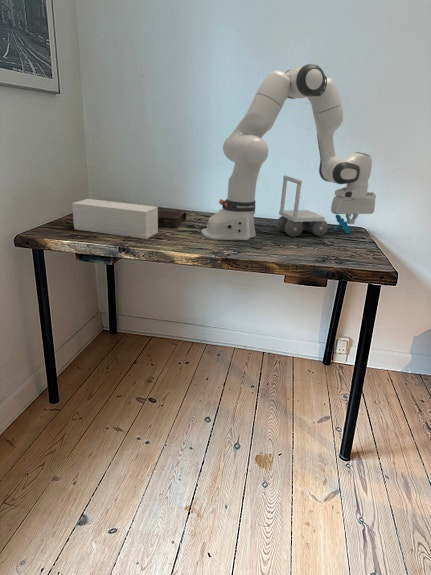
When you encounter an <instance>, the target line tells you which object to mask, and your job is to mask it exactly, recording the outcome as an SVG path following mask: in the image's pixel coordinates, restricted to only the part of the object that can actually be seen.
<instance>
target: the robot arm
mask: <svg viewBox="0 0 431 575" xmlns="http://www.w3.org/2000/svg"><path fill="white" fill-rule="evenodd" d="M305 98H307V100H308V101H309V102H310V104H311V111H312V113H313V118H314V123H315V124H314V125H315V128H316V138H317V144H318V151H319V158H320V161H319V167H318V172H319V173H318V174H319V176H320V178H321V179H322V180H323V181H325V182H328V183H333V184H337V185H346V186H344V187H342V188H338V189H336V190H335V191H334V197H333V198H332V202H331V206H330V212H331V213H332V214H333V215H334V214H335V215H337V214H338V215H345V218H346V222H347V225H355V222H356V220H357V218H358V217H359V215H365V214H366V215H372V214H373V213H374V212H375V208H376V207H375V206H376V193H374V192H371V191H369V192H368V188H369V179H370V177H371V174H372V173H371V172H372V166H373V158H372V157H371V155H369V154H367V153H365V152H364V153H362V152H359V151H356V152H353V153H352V154H351V155H349V156H348V157H345V158H343V159H342V158H341V159H339V158H338V157H337V156H336V151H335V144H334V135H335V132H336V131H337V130H338V129H339V128H340V126H341V125H342V123H343V119H344V112H343V105H342V101H341V97H340V92H339V90H338V87H337V85H336V83H335V80H334V79H333V78H330V77H327V76H326V74H325V73H324V70H323V69H322V68H321V67H320V66H319V65H317V64H314V63H308V64H304V65H298V66H295V67H294V68H291V69H288V70H286V71H285V72H284V71H282V70H277V69H276V70H275V69H274V70H272V71H269V73H268V74H267V75H266V77H265V78H264V79H263V81H262V83H261V84H260V85H259V87H258V89H257V91H256V93H255V95H254V97H253V99H252V101H251V103H250V105H249V107H248V109H247V111H246V113H245V115H244V116H243V118H242V119H241V120H240V122H239V123H238V124H237V125H236V127H235V128H234V130H233V132H232V133H231V134H230V135H228V137H227V138H225V139H224V141H223V144H222V150H223V154H224V155H225V157H226V158H227V159H228V160H230V161H231V162H232V163H234V166H233V169H232V173H231V175H230V176H229V178H228V180H227V182H228V183H227V196H226V197H227V198H226V199H225V200H223V199H222V198H221V199H219V201H218V203H219V205H220V206H222V208H221V209H219V210H218V211H217V212H216V213H214V214H213V215H212V216H210V217H209V219H208V221H207V225H206V228H202V229H201V235H203V237H205V238H207V239H210V240H223V241H224V240H225V241H226V240H227V241H248V240H250V239H251V238H254V237H256V235H257V234H256V230H255V214H256V199H255V198H256V191H257V190H256V189H257V182H258V181H257V180H258V177H259V173H260V171H261V168H262V165H263V164H264V163H265V161H266V160H268V159H267V158H268V157H269V145H268V143H267V142H266V141H265V140H264V139H262V138H263V137H264V135H265V134H267V132H269V131H270V130H271V129H272V128H273V126H274V125H275V122H276V120H277V118H278V116H279V114H280V112H281V111H282V108H283V106H284V105H285V101H287V99H292V100H293V99H295V100H296V99H305ZM351 217H352V218H351Z"/></svg>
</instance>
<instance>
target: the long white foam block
mask: <svg viewBox="0 0 431 575" xmlns="http://www.w3.org/2000/svg"><path fill="white" fill-rule="evenodd" d="M71 205H72V215H73V216H72V217H73V219H72V220H73V227H74V228H73V229H74V230H77V231H84V232H85V231H86V232H92V233H93V232H94V233H99V234H108V235H116V236H122V237H129V236H130V238H138V239H143V240H145V239H146V240H147V239H149V238H150V237H152V236H154V235H156V234H158V233H159V230H158V229H159V227H158V224H157V223H158V222H157V221H158V217H157V216H158V210H157V209H159V207H158V206H156V205H155V206H154V205H147V204H146V205H144V204H136V203H126V202H119V201H111V200H110V201H108V200H101V199H93V198H92V199H91V198H86V199H82V200H79V201H75V202H72V203H71Z"/></svg>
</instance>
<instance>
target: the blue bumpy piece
mask: <svg viewBox="0 0 431 575" xmlns="http://www.w3.org/2000/svg"><path fill="white" fill-rule="evenodd" d="M335 218H336V222H337V223H338V225H337V227H334V228H333V232H336V231H337V230H340V229H342V230H343V231H344V232H345V233H346V234H351V228H350V226H349V225H348V224H347V220H346V221H345V219H344V217H342V216H341V214H335Z"/></svg>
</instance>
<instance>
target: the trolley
mask: <svg viewBox="0 0 431 575" xmlns="http://www.w3.org/2000/svg"><path fill="white" fill-rule="evenodd" d="M282 178H283V179H282V188H281V189H282V190H281V199H280V208H279V211H278V214H279V215H280V217H278V218H277V219H278V220H277V222H276V228H277V229H278V230H279V231H281V232H282V233H286V235H288V237H292V238H296V237H298V236H300V235H301V233H302V232H303V230H304V231H307V232H311V233H312V234H313V235H315V236H317V237H321V236H324V235H325V234H326V233H327V231H328V229H329V224H328V222H327V221H326V220H325V219H326V218H325V216H322V215H321V214H318V213H316V212H314V211H311V210H309V209H307V210H306V209H304V210H301V209H300V210H299V205H300V204H299V203H300V197H301V196H300V195H301V190H302V183H303V181H302V180H300V179H298V178H294V177H291V176H289V175H283V177H282ZM288 182H290V183H295V184H296V191H295V199H294V206H293V209H291V210H290V209H288V210H285V202H286V194H287V186H288Z"/></svg>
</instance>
